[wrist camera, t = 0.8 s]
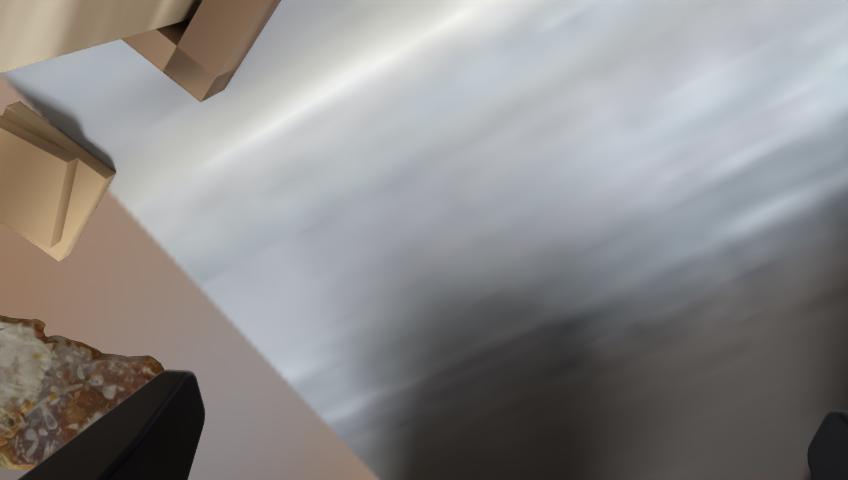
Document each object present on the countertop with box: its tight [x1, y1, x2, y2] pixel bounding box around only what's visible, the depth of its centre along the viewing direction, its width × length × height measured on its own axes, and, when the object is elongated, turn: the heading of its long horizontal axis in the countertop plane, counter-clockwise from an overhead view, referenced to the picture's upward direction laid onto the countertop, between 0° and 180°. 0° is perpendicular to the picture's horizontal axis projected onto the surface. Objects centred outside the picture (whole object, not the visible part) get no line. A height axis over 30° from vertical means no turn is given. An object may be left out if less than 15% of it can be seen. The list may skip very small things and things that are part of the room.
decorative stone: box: [0, 316, 164, 469], centre depth 27 cm, size 10×4×15 cm
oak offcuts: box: [0, 101, 116, 261], centre depth 22 cm, size 4×5×1 cm
